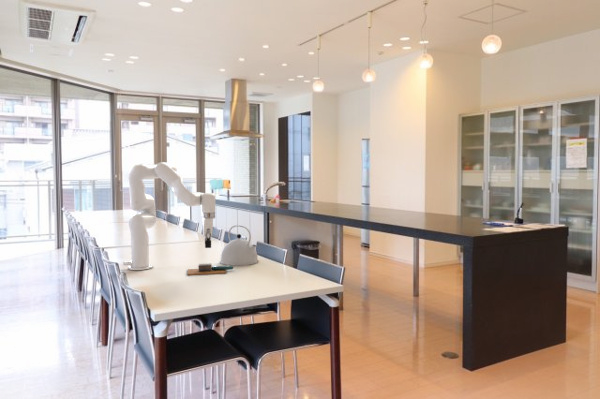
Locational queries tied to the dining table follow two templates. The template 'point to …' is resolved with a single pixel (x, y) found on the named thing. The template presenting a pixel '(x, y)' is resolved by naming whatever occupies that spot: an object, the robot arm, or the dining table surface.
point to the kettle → (239, 251)
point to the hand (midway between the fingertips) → (207, 246)
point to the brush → (208, 267)
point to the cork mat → (196, 272)
